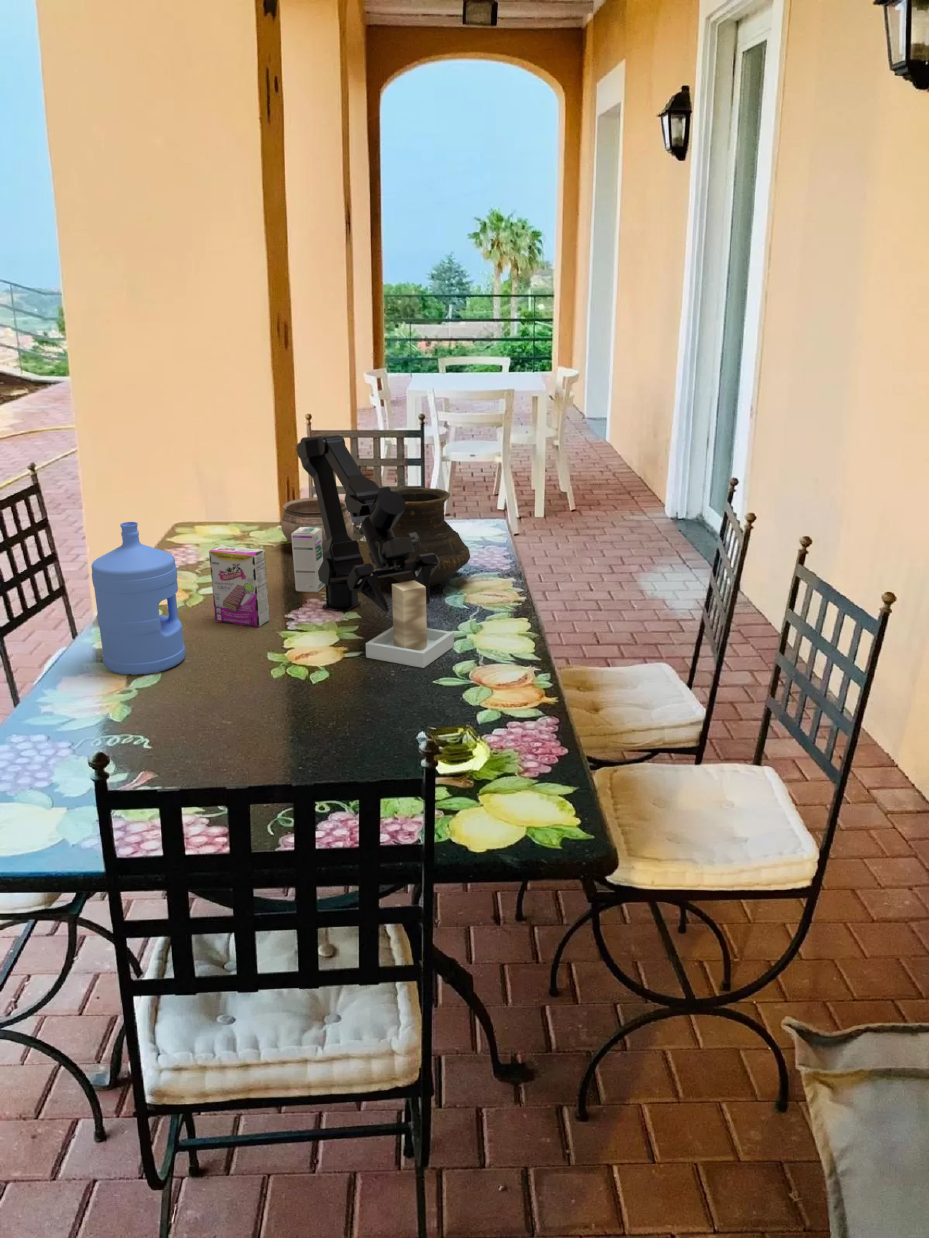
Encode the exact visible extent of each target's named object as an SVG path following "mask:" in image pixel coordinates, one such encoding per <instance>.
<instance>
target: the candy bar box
mask: <svg viewBox="0 0 929 1238" xmlns="http://www.w3.org/2000/svg"><path fill="white" fill-rule="evenodd" d="M208 554H209V564H210V576H211V585H212V598H213V599H212V600H213V608H214V618H215V619H214V620H215V622H217V623H222V624H223V623H224V624H232V625H240V626H247V627H248V626H249V627H256V628H260V627H262V626H263V625H265V624H266V623H268V622H270V617H271V616H270V608H269V607H270V606H269V605H270V604H269V594H268V593H269V591H268V580H267V579H268V578H267V565H266V551H265V549H261V548H251V547H249V548H248V547H241V546H232V545H225V544H224V545H223V544H221V545H218V546H216V547H213V548H211V549H210V550H208Z"/></svg>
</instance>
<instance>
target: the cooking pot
mask: <svg viewBox="0 0 929 1238" xmlns="http://www.w3.org/2000/svg"><path fill="white" fill-rule="evenodd" d="M339 499H340V503H341V508H342V512H343V516H344V521H345V525H346V530H347V534H348V536H349V535H350V534H351V531H352V528H353V521H352V515H351V514H350V512H348V510H347V507H346V503H345V501H344V500H345V499H341V498H339ZM282 508H283V509H284V512H283V514H282V517H281V521H280V522H281V523H280V527H281V531H282V533H283V535H284V537H285V538H286V539H287V541H288V542H290V543H291V544H292V538H291V534H292V533H293V532H294V531H296V530H298V529H299V528H300V527H317V528H321V529H322V540H323V551H324V548H325V545H326V542H327V539H326V534H325V530H324V526H323V521H322V517H321V512H320V508H319V504H318V499H317V496H316V497H314V496H313V497H305V498H299V499H293V500H290V501H288V502H285V503H284V504H283V505H282Z"/></svg>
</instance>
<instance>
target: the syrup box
mask: <svg viewBox="0 0 929 1238" xmlns="http://www.w3.org/2000/svg"><path fill="white" fill-rule="evenodd" d="M291 538H292V543H291V548H292V549H291V550H292V561H293V571H294V584H295V591H296V592H300V593H319V592H320V591H321V590H322V589H323V588H324V587H325V584H324V583H322V582H321V581H320V580H319V576H318V570H319V568H320V566H321V564H322V562H323V540H322V529H321V528H317V527H300V528H299V529H298V530H296V531H294V532H293V533H292V534H291Z"/></svg>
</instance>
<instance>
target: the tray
mask: <svg viewBox="0 0 929 1238" xmlns="http://www.w3.org/2000/svg"><path fill="white" fill-rule="evenodd" d="M453 647H455V632H454V631H448V630H444V629H443V630H441V629H436V628H435V629H434V628H430V627H427V647H426V648H425V649H423V650H412V649H406V648H401V647H395V646H394V637H393V626H392V627H389V628H388V629H387V630H385V631H382V633H380V634H378V635H377V636H375V637H374V638H372V639H370V640H369V641H367V642H366V643H365V657H366V658H368V659H372V660H377V661H383V662H389V663H393V664H395V663H396V664H399V665H405V666H410V667H414V668H415V667H416V668H422V669H424V668H426V667H427V666H429V665H430V664H431V663H433V662H434V661H435V660H437V659H438V658H440V657H441V656H442V655H444V654H446V652H448V651H449V650H451V649H452V648H453Z"/></svg>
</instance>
